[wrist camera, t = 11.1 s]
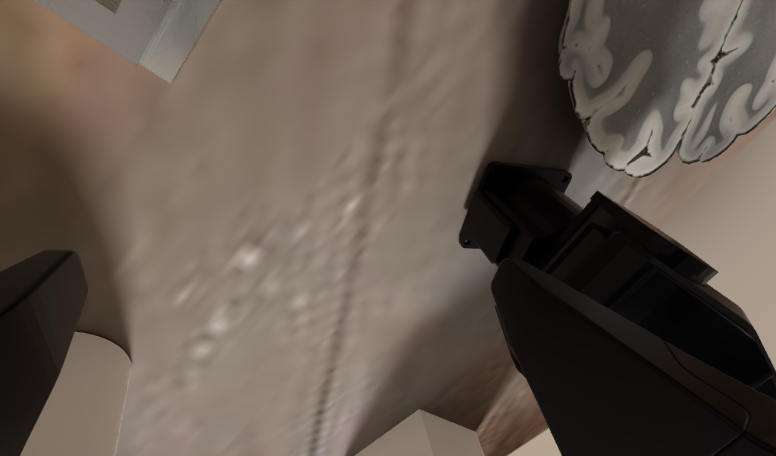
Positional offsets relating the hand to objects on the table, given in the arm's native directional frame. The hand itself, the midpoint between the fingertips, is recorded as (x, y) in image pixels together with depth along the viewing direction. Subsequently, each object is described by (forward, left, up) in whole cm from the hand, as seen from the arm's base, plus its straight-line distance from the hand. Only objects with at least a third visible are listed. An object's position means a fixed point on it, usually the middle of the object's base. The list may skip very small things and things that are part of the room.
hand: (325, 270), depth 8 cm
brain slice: (-21, -8, -14) cm, 26 cm away
